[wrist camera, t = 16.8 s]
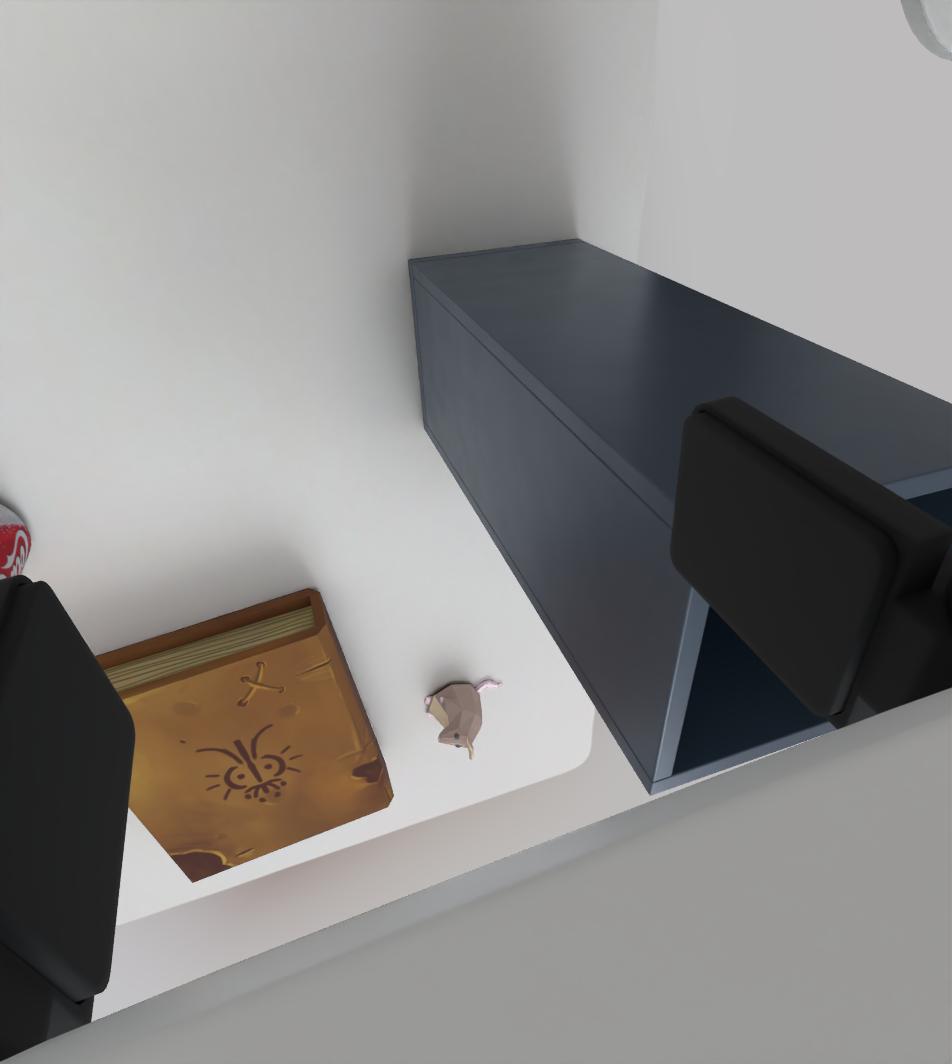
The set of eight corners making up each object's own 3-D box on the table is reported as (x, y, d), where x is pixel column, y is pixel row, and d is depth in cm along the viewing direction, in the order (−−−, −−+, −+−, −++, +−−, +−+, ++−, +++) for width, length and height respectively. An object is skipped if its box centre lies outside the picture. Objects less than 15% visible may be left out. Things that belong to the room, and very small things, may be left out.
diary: (383, 754, 66) (396, 804, 61) (193, 824, 62) (192, 883, 58) (317, 584, 52) (328, 633, 47) (70, 664, 49) (55, 724, 44)
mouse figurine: (503, 699, 67) (528, 752, 62) (428, 724, 65) (447, 780, 60) (500, 664, 64) (526, 717, 59) (421, 689, 62) (441, 746, 57)
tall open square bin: (407, 259, 41) (702, 529, 16) (578, 238, 43) (1045, 444, 19) (423, 428, 47) (650, 796, 23) (570, 401, 50) (909, 705, 26)
